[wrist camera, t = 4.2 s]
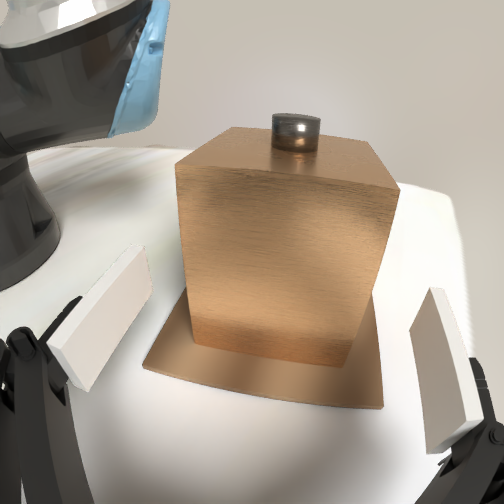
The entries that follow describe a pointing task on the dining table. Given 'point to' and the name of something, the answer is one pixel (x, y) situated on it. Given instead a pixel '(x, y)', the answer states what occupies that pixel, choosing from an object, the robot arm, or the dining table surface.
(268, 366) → the board
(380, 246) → the wooden cube with knob
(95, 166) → the dining table surface
